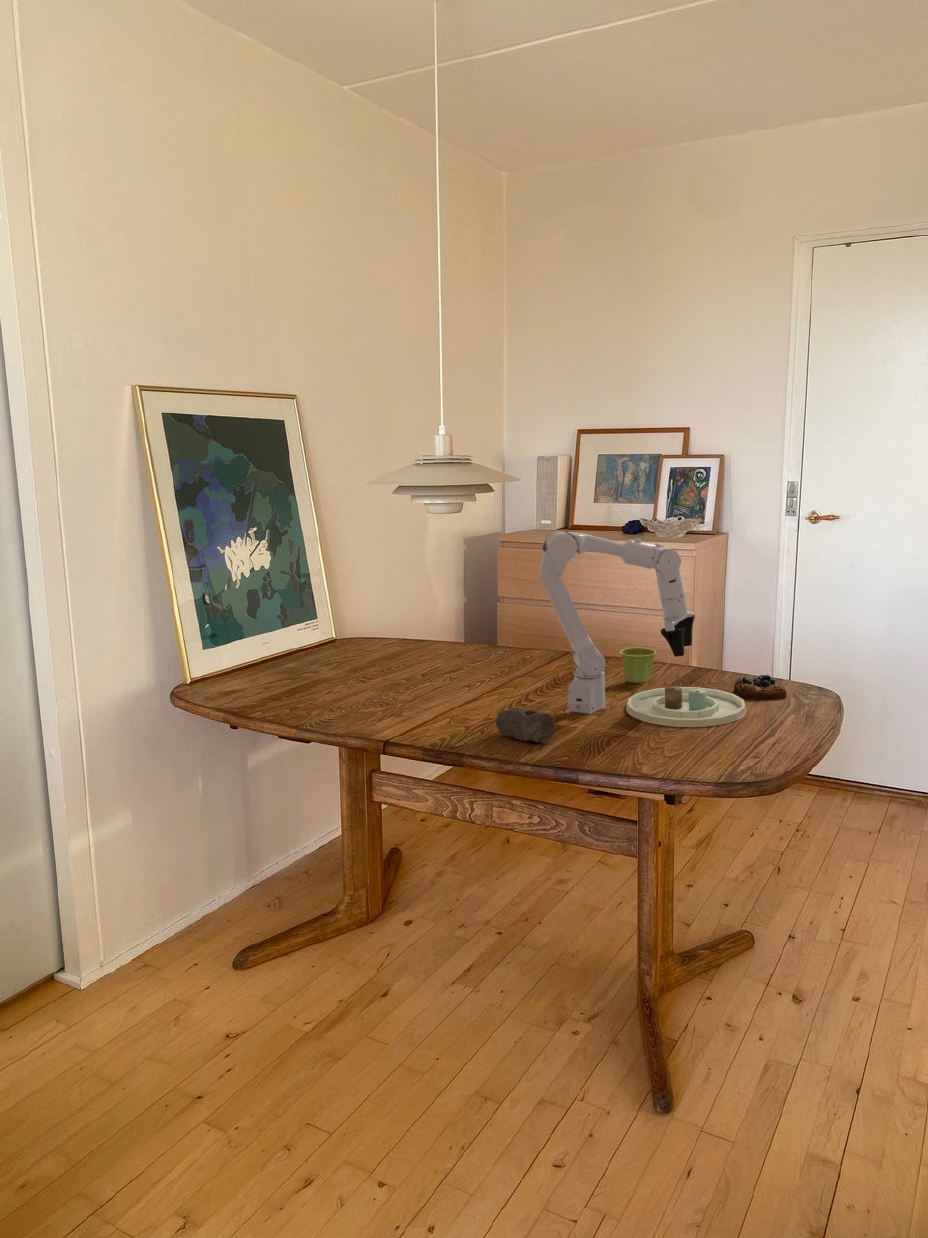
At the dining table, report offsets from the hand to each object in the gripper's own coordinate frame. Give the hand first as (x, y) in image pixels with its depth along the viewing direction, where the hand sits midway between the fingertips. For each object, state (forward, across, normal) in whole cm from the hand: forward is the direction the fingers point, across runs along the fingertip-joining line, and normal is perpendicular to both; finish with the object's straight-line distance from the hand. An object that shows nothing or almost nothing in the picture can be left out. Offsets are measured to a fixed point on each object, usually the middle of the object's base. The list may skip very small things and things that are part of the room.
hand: (683, 650), depth 225 cm
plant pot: (+12, +14, +18) cm, 26 cm away
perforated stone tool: (+6, -38, +28) cm, 47 cm away
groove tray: (+13, -8, 0) cm, 15 cm away
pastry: (+17, +10, -13) cm, 24 cm away
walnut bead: (+11, -8, +3) cm, 14 cm away
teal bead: (+12, -8, -3) cm, 15 cm away
